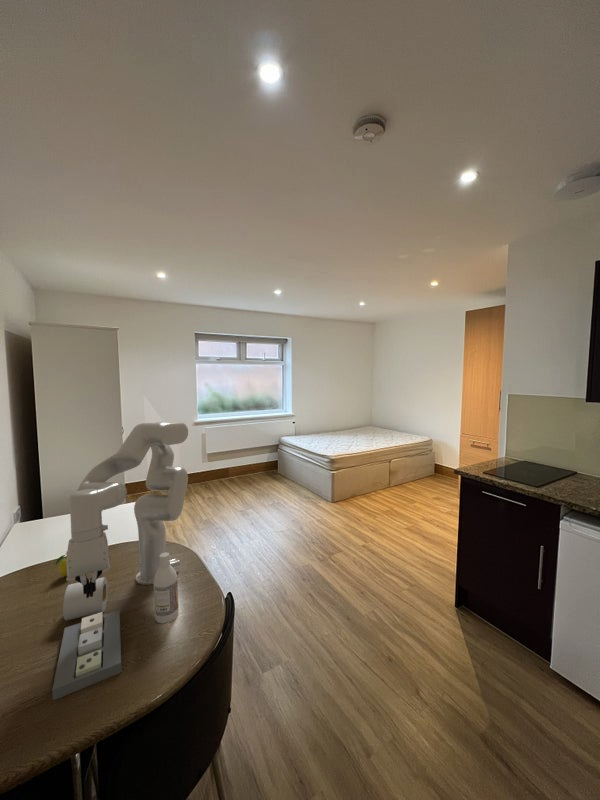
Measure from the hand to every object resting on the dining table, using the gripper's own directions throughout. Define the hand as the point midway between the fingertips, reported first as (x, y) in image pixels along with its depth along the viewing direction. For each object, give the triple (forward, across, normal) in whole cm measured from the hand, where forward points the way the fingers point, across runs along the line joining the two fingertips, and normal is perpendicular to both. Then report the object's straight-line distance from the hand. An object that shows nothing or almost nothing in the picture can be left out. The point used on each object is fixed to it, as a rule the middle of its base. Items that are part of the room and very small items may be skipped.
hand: (89, 594), depth 94 cm
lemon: (+12, +10, -42) cm, 45 cm away
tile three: (+12, 0, +15) cm, 19 cm away
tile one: (+11, 0, 0) cm, 11 cm away
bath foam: (+12, -20, +3) cm, 24 cm away
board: (+12, 0, +7) cm, 14 cm away
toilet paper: (+13, +2, -13) cm, 18 cm away
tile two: (+11, 0, +7) cm, 13 cm away
